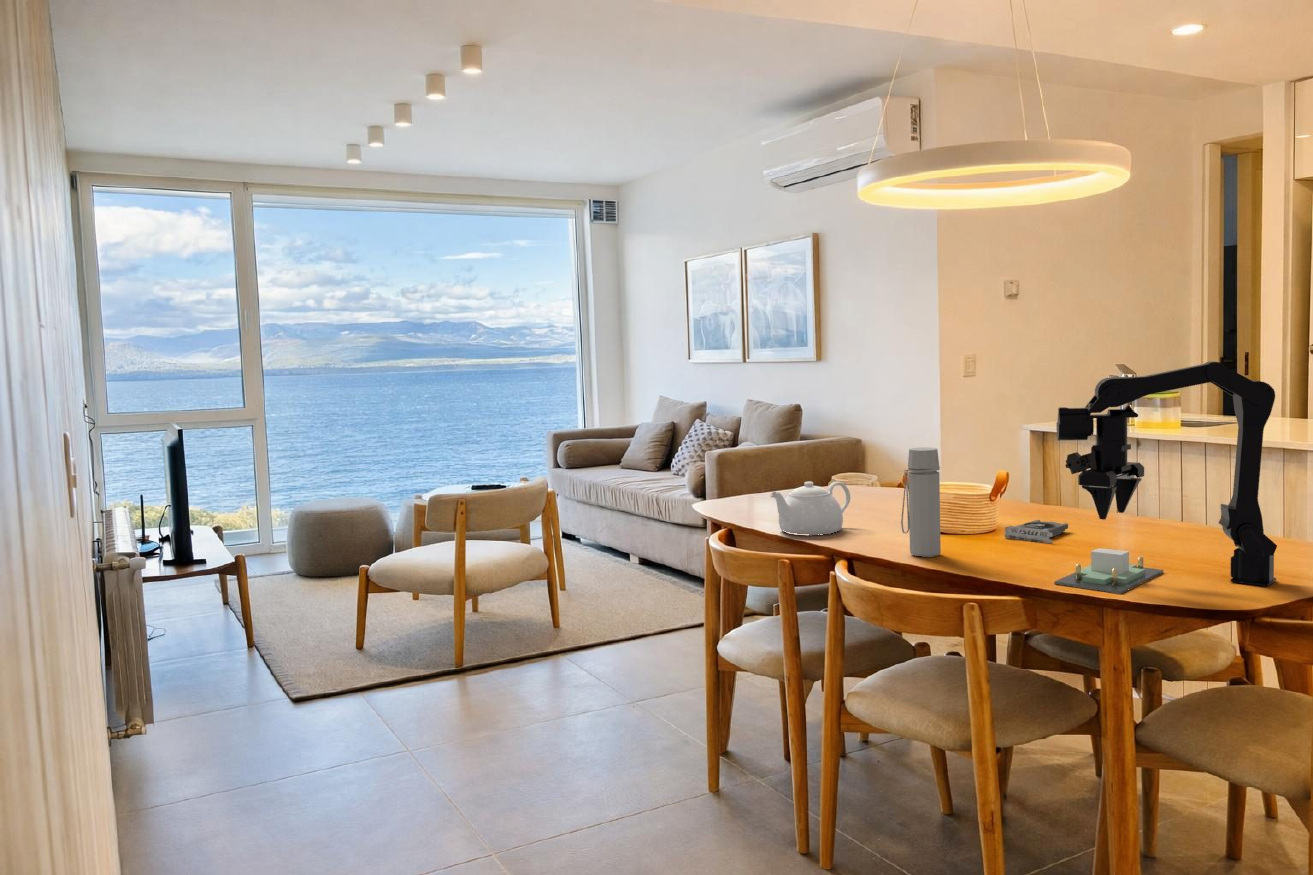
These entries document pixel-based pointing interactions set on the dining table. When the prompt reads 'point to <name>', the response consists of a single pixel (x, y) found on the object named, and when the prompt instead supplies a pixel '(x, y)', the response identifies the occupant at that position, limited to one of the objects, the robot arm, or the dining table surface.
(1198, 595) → the dining table surface
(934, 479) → the water bottle
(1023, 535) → the graphics card
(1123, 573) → the board
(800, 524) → the teapot
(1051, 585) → the dining table surface
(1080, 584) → the plate
